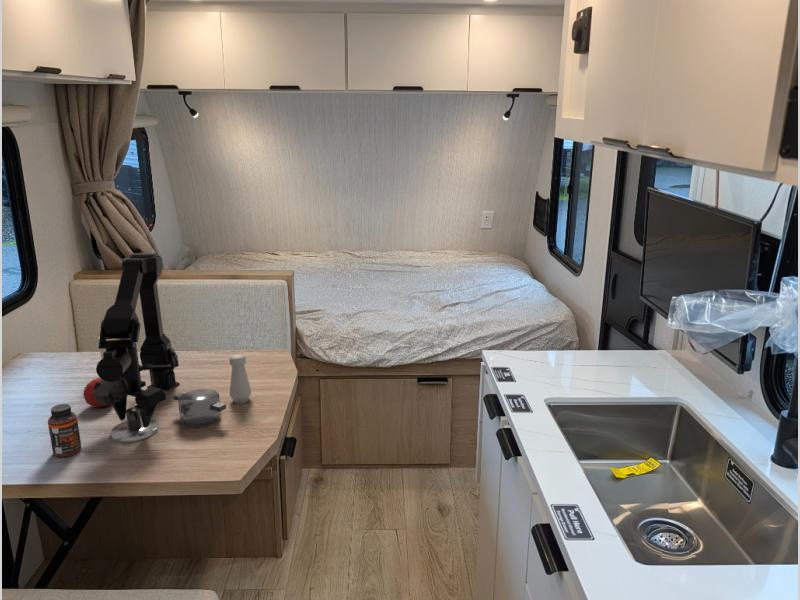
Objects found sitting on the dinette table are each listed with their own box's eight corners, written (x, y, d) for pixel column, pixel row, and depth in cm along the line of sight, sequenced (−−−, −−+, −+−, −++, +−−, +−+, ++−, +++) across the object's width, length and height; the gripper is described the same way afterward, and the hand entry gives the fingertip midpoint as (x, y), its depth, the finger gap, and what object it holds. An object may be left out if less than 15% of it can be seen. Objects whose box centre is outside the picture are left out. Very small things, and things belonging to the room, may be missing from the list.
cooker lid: (101, 437, 151) (97, 414, 149) (137, 418, 161) (134, 396, 159) (132, 447, 146) (129, 424, 145) (168, 427, 156) (166, 405, 154)
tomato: (108, 378, 163) (91, 367, 166) (86, 403, 160) (70, 391, 163) (126, 392, 169) (110, 381, 173) (105, 416, 166) (89, 404, 170)
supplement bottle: (62, 461, 140) (54, 415, 137) (48, 453, 143) (39, 409, 140) (87, 449, 145) (80, 405, 142) (72, 442, 148) (65, 399, 145)
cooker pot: (163, 420, 158) (160, 399, 157) (192, 404, 167) (190, 384, 165) (210, 434, 152) (208, 411, 150) (238, 416, 160) (236, 395, 158)
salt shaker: (246, 405, 166) (242, 360, 162) (226, 404, 167) (222, 359, 164) (255, 396, 172) (251, 352, 168) (236, 394, 173) (232, 351, 169)
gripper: (69, 369, 146) (79, 429, 150) (125, 384, 137) (134, 447, 142) (110, 354, 155) (118, 410, 160) (164, 366, 147) (171, 426, 151)
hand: (134, 423), depth 153 cm, fingers open, 8 cm apart
